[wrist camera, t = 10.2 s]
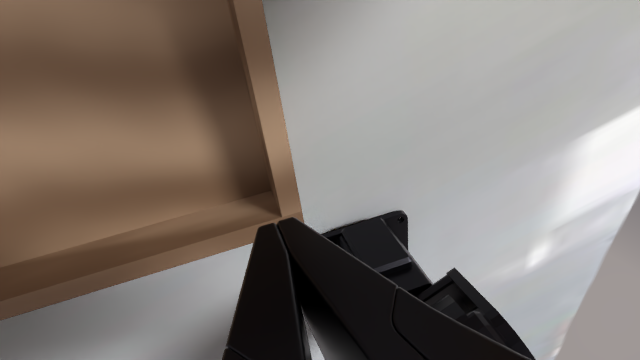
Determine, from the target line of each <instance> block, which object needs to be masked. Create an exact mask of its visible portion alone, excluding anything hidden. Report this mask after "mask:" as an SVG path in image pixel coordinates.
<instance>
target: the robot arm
mask: <svg viewBox="0 0 640 360" xmlns="http://www.w3.org/2000/svg"><path fill="white" fill-rule="evenodd" d="M400 217H401V218H400ZM399 218H400V219H399ZM446 274H447V275H446V276H444V277H443V278H442V279H440V280H439V281H437V282H436V283H434V284H433V283H432V282H431V281H430V279H429V278H428V277H427V275H426V274H425V273H424V271H423V270H422V269H421V267H420V266H419V265H418V263H417V262H416V261H415V260H414V258H413V257H412V256H411V254H410V253H409V252H408V217H407V215H406V214H405V213H404V212H403V211H401V210H400V211H395V212H392V213H389V214H386V215H383V216H379V217H376V218H373V219H370V220H367V221H364V222H360V223H357V224H354V225H351V226H348V227H344V228H341V229H338V230H335V231H332V232H329V233H325V234H322V235H321V234H319V233H318V232H316V231H315V230H313V229H312V228H310V227H309V226H307V225H306V224H304V223H303V222H301V221H300V220H298V219H297V218H295V217H290V218H287V219H283V220H280V221H278V222H277V224H276V223H270V224H267V225H263V226H260V227H259V228H258V229H257V232H256V236H255V239H254V243H253V247H252V251H251V254H250V258H249V262H248V265H247V269H246V273H245V276H244V280H243V284H242V288H241V291H240V295H239V299H238V302H237V306H236V310H235V313H234V317H233V321H232V325H231V328H230V332H229V336H228V339H227V343H226V349H225V350H224V353H223V357H222V360H312V358H311V353H310V347H309V342H308V337H307V332H306V326H305V322H304V317H303V314H304V316H305V318H306V321H307V323H308V325H309V327H310V329H311V331H312V333H313V336H314V338H315V340H316V342H317V344H318V346H319V348H320V350H321V352H322V354H323V356H324V358H325V360H535V358H534V357H533V355H532V354H531V352H530V351H529V349H528V348H527V347H526V345H525V344H524V343H523V341H522V340H521V339H520V337H519V336H518V335H517V334H516V332H515V331H514V330H513V329H512V327H511V326H510V325H509V324H508V323H507V321H506V320H505V319H504V318H503V317H502V316H501V315H500V313H499V312H498V311H497V310H496V309H495V308H494V307H493V306H492V305H491V304H490V303H489V302H488V301H487V300H486V299H485V298H484V297H483V296H482V295H481V294H480V293H479V292H478V291H477V290H476V289H475V288H474V287H473V286H472V285H471V284H470V283H469V282H468V281H467V280H466V279H465V278H464V277H463V276H462V275H461V274H460V273H459V272H458V271H457V270H456V269H455V268H453V269H452V270H450V271H449V272H447V273H446ZM302 311H303V313H302Z"/></svg>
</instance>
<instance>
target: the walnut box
mask: <svg viewBox="0 0 640 360" xmlns="http://www.w3.org/2000/svg"><path fill="white" fill-rule="evenodd" d="M290 217H295V218H297V219H298V220H300V221H301V222H303V223H304V220H303V214H302V209H301V204H300V199H299V193H298V188H297V183H296V177H295V172H294V167H293V162H292V156H291V151H290V146H289V141H288V135H287V130H286V125H285V120H284V114H283V109H282V104H281V99H280V93H279V88H278V83H277V78H276V72H275V67H274V62H273V57H272V51H271V46H270V41H269V35H268V30H267V25H266V20H265V14H264V9H263V4H262V0H0V320H4V319H7V318H10V317H13V316H17V315H20V314H23V313H26V312H30V311H33V310H36V309H39V308H43V307H46V306H49V305H52V304H56V303H59V302H62V301H65V300H69V299H72V298H75V297H78V296H82V295H85V294H88V293H91V292H95V291H98V290H101V289H104V288H108V287H111V286H114V285H117V284H121V283H124V282H127V281H130V280H134V279H137V278H140V277H143V276H147V275H150V274H153V273H156V272H160V271H163V270H166V269H169V268H173V267H176V266H179V265H182V264H186V263H189V262H192V261H195V260H199V259H202V258H205V257H208V256H212V255H215V254H218V253H221V252H225V251H228V250H231V249H234V248H238V247H241V246H244V245H247V244H251V243H254V239H255V236H256V232H257V229H258V228H259V227H260V226H263V225H267V224H270V223H276V224H277V222H278V221H280V220H283V219H287V218H290Z"/></svg>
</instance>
